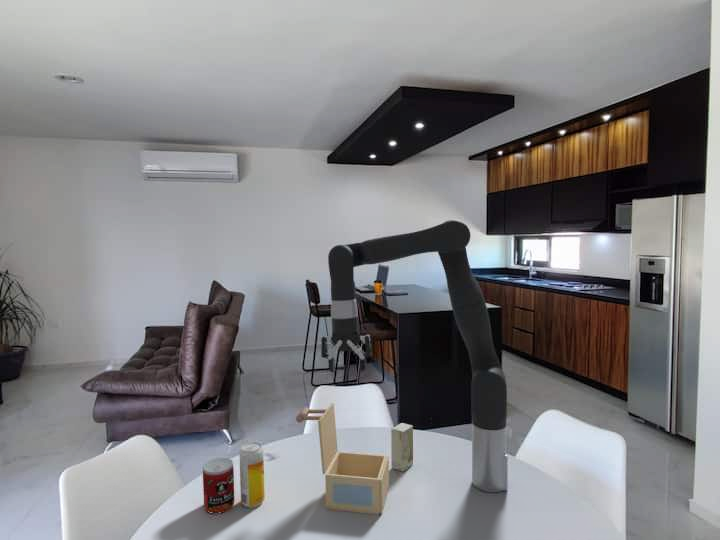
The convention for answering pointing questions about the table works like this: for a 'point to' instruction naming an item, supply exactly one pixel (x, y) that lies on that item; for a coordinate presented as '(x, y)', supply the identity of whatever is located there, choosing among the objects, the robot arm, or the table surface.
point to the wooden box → (357, 483)
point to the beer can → (252, 474)
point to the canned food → (218, 485)
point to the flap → (323, 432)
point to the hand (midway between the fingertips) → (347, 371)
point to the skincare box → (402, 446)
